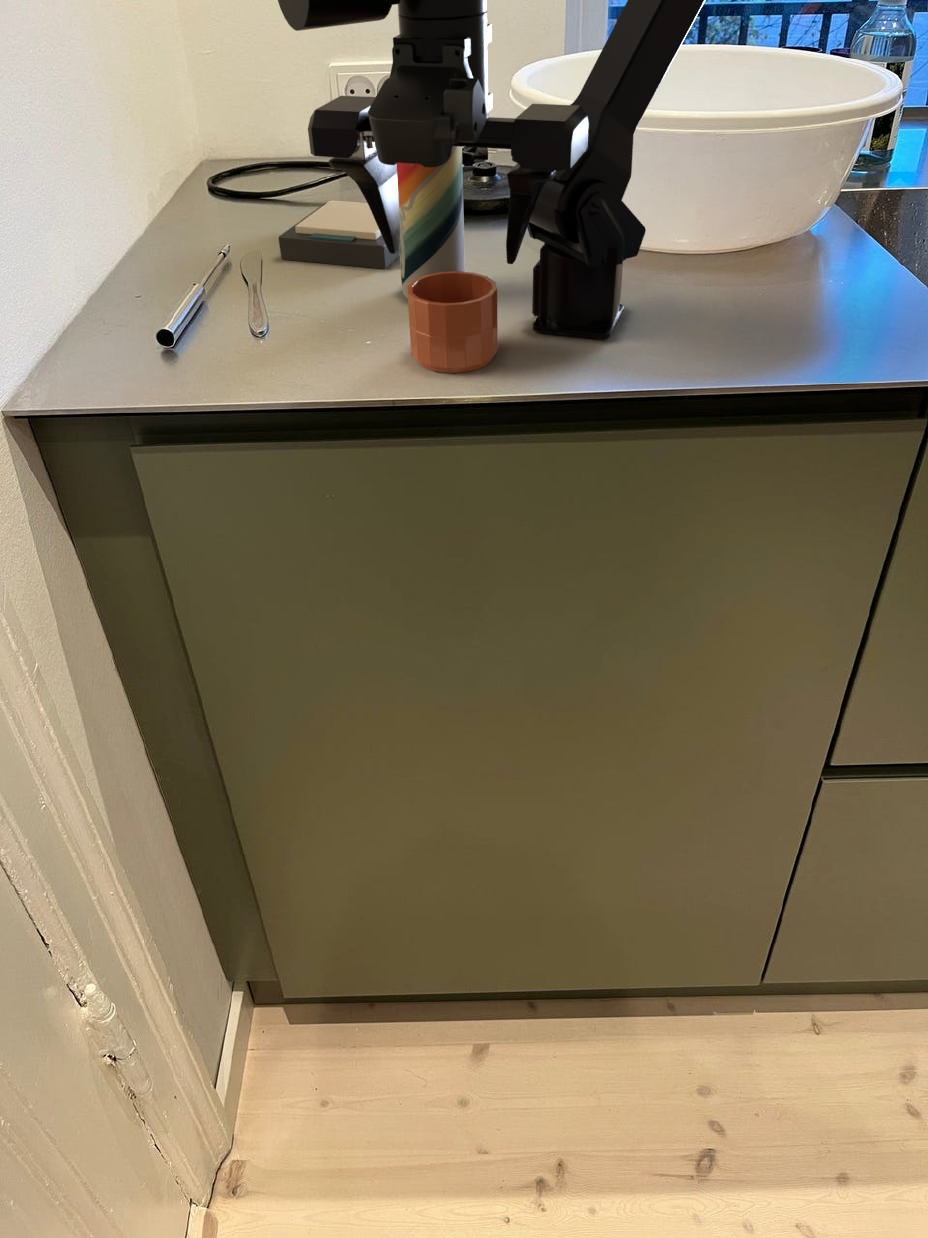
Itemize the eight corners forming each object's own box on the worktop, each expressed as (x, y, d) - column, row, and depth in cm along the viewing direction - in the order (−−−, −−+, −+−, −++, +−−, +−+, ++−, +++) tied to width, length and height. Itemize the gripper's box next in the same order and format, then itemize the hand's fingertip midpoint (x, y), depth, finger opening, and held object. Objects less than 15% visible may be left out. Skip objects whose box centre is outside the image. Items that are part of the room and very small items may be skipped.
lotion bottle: (392, 288, 88) (373, 35, 76) (447, 276, 90) (439, 27, 78) (418, 309, 85) (404, 46, 72) (476, 296, 86) (472, 38, 74)
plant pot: (507, 342, 79) (507, 275, 75) (482, 378, 74) (481, 308, 70) (428, 334, 81) (425, 267, 77) (398, 368, 76) (393, 299, 72)
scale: (424, 231, 100) (423, 202, 99) (385, 269, 92) (382, 238, 91) (327, 223, 103) (324, 195, 101) (281, 259, 95) (276, 229, 93)
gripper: (253, 31, 59) (290, 285, 69) (553, 38, 54) (546, 310, 64) (329, 2, 67) (353, 234, 77) (596, 6, 62) (584, 253, 72)
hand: (452, 257), depth 72 cm, fingers open, 9 cm apart
